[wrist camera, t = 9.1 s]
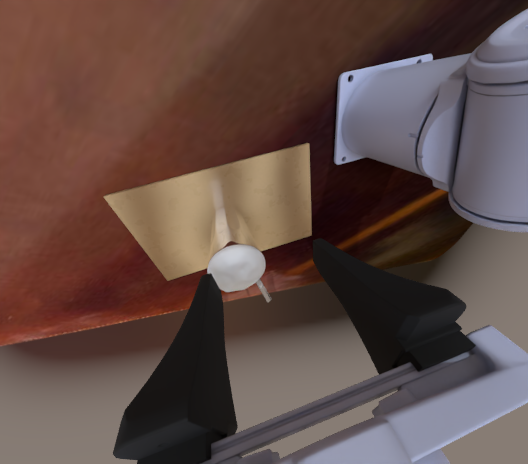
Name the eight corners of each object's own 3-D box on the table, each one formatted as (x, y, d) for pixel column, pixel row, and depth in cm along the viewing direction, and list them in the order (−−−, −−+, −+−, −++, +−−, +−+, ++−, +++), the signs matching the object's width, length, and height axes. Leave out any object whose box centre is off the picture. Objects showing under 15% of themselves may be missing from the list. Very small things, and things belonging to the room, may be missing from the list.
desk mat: (307, 142, 19) (309, 143, 19) (310, 233, 26) (311, 235, 26) (105, 194, 17) (103, 196, 17) (168, 278, 24) (167, 281, 24)
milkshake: (234, 244, 23) (250, 317, 15) (197, 221, 20) (193, 297, 12) (259, 219, 22) (290, 284, 14) (225, 191, 19) (239, 253, 11)
